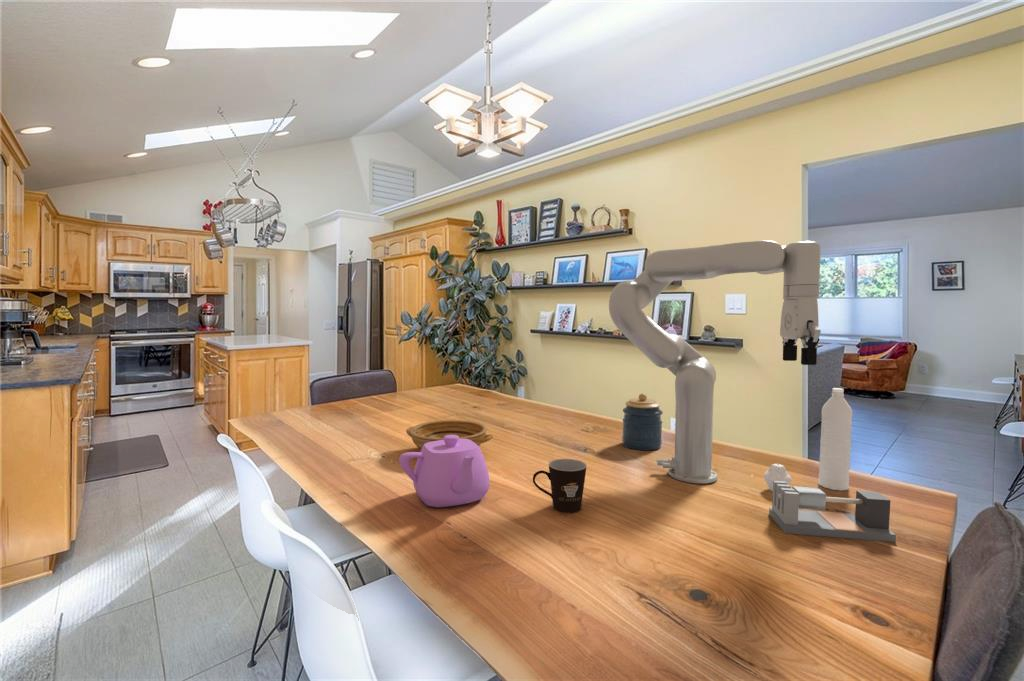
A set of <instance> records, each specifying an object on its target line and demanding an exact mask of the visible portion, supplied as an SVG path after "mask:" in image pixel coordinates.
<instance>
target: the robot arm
mask: <svg viewBox="0 0 1024 681" xmlns="http://www.w3.org/2000/svg"><path fill="white" fill-rule="evenodd" d="M742 273H743V274H744V273H757V274H760V275H773V274H778V273H783V285H782V286H783V288H782V300H783V302H782V307H781V317H780V329H779V335H780V337H781V338H782V360H783V361H785V362H790V361H791V362H792V361H793V362H796V361H797V360H798V345H797V341H798V340H799V339H800V341H801V344H802V346H803V347H801V349H800V350H801V351H800V352H801V353H800V354H801V355H800V364H801V365H802V366H816V365H817V362H818V361H817V360H818V358H817V357H818V356H817V355H818V348H819V342H820V336H821V332H822V331H821V329H820V328H819V305H818V299H820V280H821V279H820V274H821V245H820V244H819V243H818V242H817V241H813V240H812V241H811V240H804V241H795V242H791V243H788V244H786V245H782V244H780V243H779V242H777V241H774V240H767V239H766V240H752V241H740V242H733V243H732V242H731V243H726V244H725V243H724V244H718V245H717V244H716V245H709V246H700V247H686V248H676V249H675V248H673V249H664V250H657V251H654V252H652V253H650V254H649V255H648V256H647V257H646V259H645V262H644V270H643V271H642V272H641V273H640V274H639V275H638V276H637V277H636V278H635V279H633V280H624V281H621V282H619V283H618V284H616V285H615V286H614V287H613V289H612V291H611V293H610V295H609V299H608V311H609V316H610V318H611V320H612V322H613V324H614V325H615V327H616V328H617V330H619V332H621V334H622V335H624V336H625V338H626V339H628V340H629V341H630V342H631V343H632V344H633V345H634V346H635V347H636V348H637V349H638V350H639V351H640V352H641V353H642V354H643V355H644V356H645V357H646V358H647V359H649V360H650V361H651V362H652V363H653V364H654V365H655V366H656V367H659V368H662V369H666V370H668V371H669V372H671V373H672V374H673V375H674V376H675V380H674V392H675V393H674V394H675V425H674V426H675V428H674V432H675V435H674V455H671V458H670V457H669V458H668V459H665V458H656V466H657V467H658V466H660V467H662V468H663V469H667V470H668V471H667V472H668V475H669V476H670V477H671V478H673V479H675V480H677V481H680V482H684V483H689V484H699V485H700V484H701V485H702V484H704V485H705V484H711V483H714V482H715V483H716V482H717V480H718V476H719V475H718V473H717V472H716V471H715V470H713V469H712V464H713V462H712V460H713V428H714V427H713V426H714V389H715V382H716V381H717V380H716V379H717V372H716V369H715V367H714V365H713V364H712V363H711V362H710V360H708V359H706V357H705V356H703V355H702V354H701V353H700V352H699V351H697V350H696V348H694V347H693V346H692V345H690V344H689V343H688V342H687V341H686V340H685V339H684V338H682V336H679V335H677V334H675V333H670V332H667V331H666V330H664V329H663V328H662V327H661V326H660V325H658V324H657V323H656V322H655V321H654V320H653V319H652V318H651V317H649V316H648V315H647V314H646V313H645V312H644V311H643V310H644V308H646V307H647V306H649V305H650V304H651V302H653V301H654V300H655V299H656V298H657V297H658V296H659V295H660V294H662V293H663V291H665V290H666V289H667V288H668V286H670V285H671V284H672V283H673V282H675V281H677V282H678V281H695V280H707V279H714V278H717V277H720V276H724V275H732V274H733V275H734V274H742Z"/></svg>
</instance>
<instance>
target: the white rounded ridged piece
mask: <svg viewBox="0 0 1024 681" xmlns="http://www.w3.org/2000/svg"><path fill="white" fill-rule="evenodd" d="M763 478H764V481H765V483H766V485H767V487H768V488H769V489H768V490H769V491H771V492H773V481H784V482H786V483H787V485H790V486H791V483H792V480H793V479H792V476H791V475H790V474H789V472H788V471H787V467H785V465H783V464H780V463H772V464H771V465H769V468H768V470H766V471H765V472H764V473H763Z"/></svg>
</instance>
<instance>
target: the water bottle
mask: <svg viewBox="0 0 1024 681" xmlns="http://www.w3.org/2000/svg"><path fill="white" fill-rule="evenodd" d="M831 389H832V391H831V397H829V399H828V400H827V401H826V402H825V403H824V404H823V406H822V408H821V425H820V426H821V427H820V429H821V430H820V441H819V443H820V446H819V452H820V453H819V462H818V465H819V467H818V468H819V469H818V485H820V486H821V487H823V488H825V489H829V490H833V491H840V492H841V491H847V490H849V489H850V468H851V465H850V464H851V447H852V440H851V439H852V427H853V426H852V425H853V421H852V420H853V410H852V406H850V404H848V402H847V400H846V399H845V397H844V396H845V394H844V392H845V389H844V388H841V387H833V388H831Z"/></svg>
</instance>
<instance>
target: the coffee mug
mask: <svg viewBox="0 0 1024 681" xmlns="http://www.w3.org/2000/svg"><path fill="white" fill-rule="evenodd" d="M548 470H549V471H545V470H538V471H536V472H534V474H533V477H532V482H533V484H534V486H535V487H536V488H537V489H538V490H539V491H541V492H543V493H544V494H545V495H547V496H549V497H550V498H551V500H552V508H553V509H554V510H555V511H556V512H558V513H562V514H575V513H578V512H580V511H581V509H582V504H583V503H582V502H583V495H584V488H585V483H586V482H585V481H586V480H585V479H586V475H587V474H586V473H587V463H585V462H583V461H581V460H578V459H573V458H558V459H553V460H551V461H549V462H548ZM540 474H544V475H546V477H547V478H548V480H549V481H550V489H551V493H550V492H549V491H547V490H545V489H544V488H543V487H541V486H539V485H538V484H537V483H536V477H537V476H538V475H540Z"/></svg>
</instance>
